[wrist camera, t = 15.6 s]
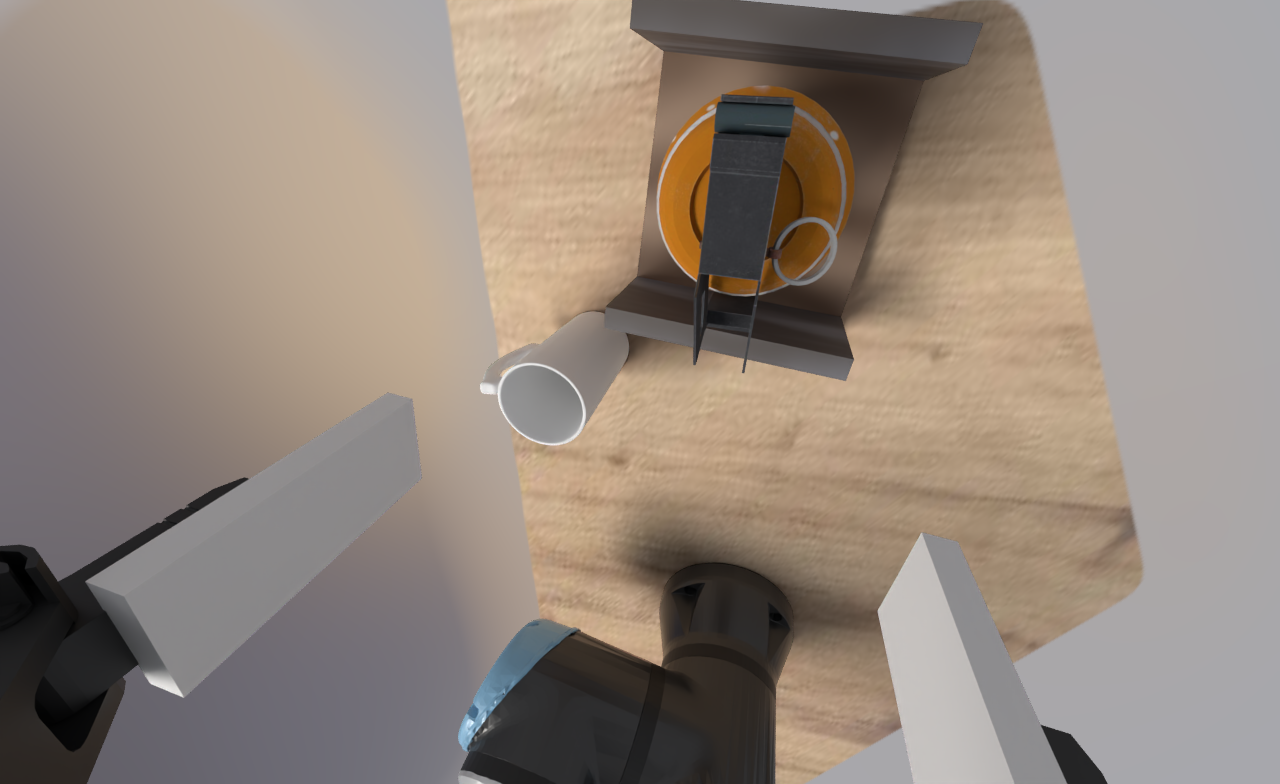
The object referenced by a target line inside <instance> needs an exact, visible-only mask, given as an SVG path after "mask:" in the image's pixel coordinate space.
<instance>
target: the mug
mask: <svg viewBox="0 0 1280 784" xmlns="http://www.w3.org/2000/svg"><path fill="white" fill-rule="evenodd" d="M604 321H605V314H604V313H601V312H595V311H590V312H584V313H581V314H579V315H577V316H576V317H574V318H573V319H572V320H570V321H569V322H568V323H566V324H565V325H564V326H562V327H561V328H560V329H559V330H558V331H556V332H555V333H554V334H553V335H551V336H550V337H549V338H548V339H546V340H545V341H544V342H543V343H541V344H535V343H531V344H528V345H526V346H524V347H522V348H519V349H517V350H515V351H513V352H511V353H509V354H507V355H505V356H503V357H501V358H500V359H498V360H497V361H495V362H494V363H493V364H491V365H490V366H489V367H488V369H487V371H486V372H485V375H484V379H483V381H482V382H481V384H480V390H481V392H482V393H484V394H497V393H498V401H499V404H500V408H501V410H502V412H503V414H504V416H505V418H506V419H507V421H508V422H509V423H510V424H511V426H512V427H513V428H514V429H515V430H516V431H518V432H519V433H520V434H522V435H523V436H524V437H526V438H528V439H530V440H532V441H534V442H537V443H540V444H545V445H561V444H565V443H568V442H570V441H572V440H573V439H575V438H576V437H577V436H578V435H579V434H580V433H581V431H582V429H583V428H584V426H585V425H586V423H587V422H588V420H589V419H590V417H591V416H592V414H593V413H594V411H595V409H596V408H597V406H598V405H599V403H600V401H601V400H602V398H603V397H604V395H605V394H606V392H607V390H608V389H609V387H610V386H611V384H612V383H613V381H614V379H615V378H616V376H617V375H618V373H619V372H620V370H621V368H622V367H623V365H624V363H625V361H626V359H627V357H628V353H629V342H628V338H627V335H626V333H625V332H620V331H616V330H611V329H606V328H604ZM512 365H514V366H513V367H512V368H510V369H509V370H508V371H507V372H506V373H505V374H504V375H503V377H500V376H499V375H500V374H501V372H502V371H504V370H505V369H506V368H508V367H510V366H512Z"/></svg>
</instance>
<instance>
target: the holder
mask: <svg viewBox="0 0 1280 784" xmlns="http://www.w3.org/2000/svg"><path fill="white" fill-rule="evenodd" d="M982 25H983V23H976V22H965V21H954V20H944V19H933V18H922V17H912V16H901V15H890V14H879V13H868V12H858V11H847V10H837V9H826V8H815V7H805V6H794V5H783V4H772V3H761V2H751V1H740V0H632V10H631V21H630V29H632V30H633V31H635V32H636V33H638V34H639V35H641V36H642V37H644V38H645V39H647V40H648V41H650V42H651V43H653V44H654V45H656V46H657V47H659V48H660V49H661V50H663V51H664V54H663V62H662V71H661V79H660V88H659V96H658V105H657V113H656V122H655V130H654V139H653V147H652V156H651V164H650V173H649V181H648V190H647V198H646V207H645V215H644V224H643V232H642V241H641V249H640V258H639V266H638V275H637V277H636V278H635V279H634V280H633V281H632V282H631V283H630V284H629V285H628V286H627V287H626V288H625V289H624V290H623V291H622V292H621V293H620V294H619V295H618V296H617V297H616V298H615V299H614V300H613V301H611V302H610V303H609V304H608V305H607V306H606V309H605V321H604V328H606V329H611V330H616V331H620V332H625V333H629V334H634V335H638V336H643V337H648V338H652V339H657V340H661V341H666V342H670V343H675V344H679V345H684V346H689V347H693V346H694V293H695V288H696V283H697V282H695V281H694V280H693V279H692V278H690V277H689V276H688V275H687V274H685V273H684V271H683V270H682V269H681V268H680V267H679V266H678V265H677V264H676V262H675V261H674V259H673V258H672V257H671V255H670V254H669V252H668V250H667V248H666V246H665V243H664V241H663V239H662V235H661V232H660V229H659V224H658V218H657V185H658V178H659V173H660V170H661V166H662V163H663V159H664V157H665V155H666V153H667V150H668V148H669V146H670V144H671V142H672V141H673V139H674V137H675V136H676V134H677V133H678V131H679V130H680V129H681V127H682V126H683V125H684V124H685V123H686V122H687V120H688V119H689V118H690V117H691V116H692V115H693V114H695V113H696V112H697V111H698V110H699V109H700V108H701V107H703V106H704V105H706V104H707V103H709V102H710V101H712V100H714V99H715V98H717V97H719V96H721V94H726V93H728V92H731V91H733V90H737V89H741V88H745V87H750V86H767V85H768V86H776V87H783V88H787V89H790V90H793V91H796V92H799V93H801V94H803V95H805V96H807V97H808V98H810V99H812V100H814V101H815V102H817V103H818V104H819V105H820V106H821V107H822V108H824V109H825V110H826V111H827V112H828V113H829V114H830V115H831V117H832V118H833V119H834V120H835V122H836V123H837V124H838V125H839V127H840V129H841V131H842V133H843V134H844V136H845V138H846V140H847V143H848V146H849V149H850V152H851V155H852V160H853V166H854V173H855V181H854V196H853V202H852V207H851V211H850V214H849V217H848V220H847V223H846V225H845V227H844V229H843V231H842V233H841V235H840V237H839V239H838V241H837V252H836V255H835V259H834V261H833V263H832V265H831V266H830V268H829V269H828V270H827V272H826V273H825V274H824V275H823V276H822V277H820V278H819V279H817V280H816V281H814V282H812V283H810V284H806V285H801V286H796V285H791V284H790V285H788V286H786V287H784V288H781V289H779V290H776V291H774V292H770V293H766V294H762V295H758V300H757V306H756V311H755V317H754V322H753V328H752V333H751V339H750V344H749V350H748V355H747V359H748V360H752V361H757V362H762V363H766V364H771V365H775V366H780V367H784V368H789V369H794V370H798V371H803V372H807V373H812V374H816V375H821V376H825V377H830V378H835V379H839V380H844V381H846V379H847V376H848V374H849V371H850V368H851V366H852V363H853V361H854V358H853V355H852V352H851V348H850V345H849V342H848V339H847V335H846V332H845V329H844V325H843V322H842V319H841V315H842V312H843V309H844V306H845V304H846V301H847V298H848V295H849V292H850V289H851V287H852V284H853V281H854V278H855V275H856V272H857V269H858V267H859V264H860V261H861V258H862V255H863V252H864V250H865V247H866V244H867V241H868V238H869V235H870V232H871V230H872V227H873V224H874V221H875V218H876V215H877V213H878V210H879V207H880V204H881V201H882V198H883V195H884V193H885V190H886V187H887V184H888V181H889V178H890V176H891V173H892V170H893V167H894V164H895V161H896V158H897V156H898V153H899V150H900V147H901V144H902V141H903V139H904V136H905V133H906V130H907V127H908V124H909V121H910V119H911V116H912V113H913V110H914V107H915V104H916V102H917V99H918V96H919V93H920V90H921V87H922V84H923V82H924V81H925V80H927V79H930V78H933V77H935V76H938V75H941V74H943V73H946V72H949V71H951V70H954V69H956V68H959V67H962V66H964V65H967V64H968V61H969V59H970V56H971V54H972V51H973V48H974V46H975V43H976V41H977V38H978V35H979V33H980V30H981V28H982ZM828 256H829V253H828V255H827V256H826V257H825V258H824V259H823V260H822V261H821V262H820V263H819V264H818V265H817V266H816V267H815V268H813V269H812V270H811V271H810V272H808V273H807V274H806V275H804V276H803V277H801V278H800V279H798V280H802V279H806V278H808V277H810V276H812V275H814V274H815V273H816V272H818V271H819V270H820V269H821V268H822V266H823V265H824V264H825V262H826V260H827V258H828ZM713 292H714V291H713V290H711V289H709V291H708V303H709V301H710V298H711V296H712V294H713ZM701 312H702V297H701ZM700 326H701V324H700ZM748 336H749V333H748V332H741V331H734V330H727V329H720V328H714V327H706V330H705V332H704V336H703V340H702V343H701V347H700V349H702V350H707V351H711V352H716V353H721V354H725V355H730V356H734V357H739V358H743V359H745V353H746V347H747V342H748Z"/></svg>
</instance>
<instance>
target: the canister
mask: <svg viewBox="0 0 1280 784" xmlns="http://www.w3.org/2000/svg"><path fill="white" fill-rule="evenodd" d="M854 181H855V173H854V166H853V160H852V155H851V152H850V149H849V146H848V143H847V140H846V138H845V136H844V134H843V133H842V131H841V129H840V127H839V125H838V124H837V123H836V122H835V120H834V119H833V118H832V117H831V115H830V114H829V113H828V112H827V111H826V110H825V109H824V108H822V107H821V106H820V105H819V104H818V103H817V102H815V101H814V100H812V99H810V98H808V97H807V96H805V95H803V94H801V93H799V92H796V91H793V90H790V89H787V88H783V87H776V86H768V85H767V86H750V87H745V88H741V89H737V90H733V91H731V92H728V93H726V94H721V96H719V97H717V98H715V99H714V100H712V101H710V102H709V103H707V104H706V105H704V106H703V107H701V108H700V109H699V110H698V111H697V112H696V113H695V114H693V115H692V116H691V117H690V118H689V119H688V120H687V122H686V123H685V124H684V125H683V126H682V127H681V129H680V130H679V131H678V133H677V134H676V136H675V137H674V139H673V141H672V142H671V144H670V146H669V148H668V150H667V153H666V155H665V157H664V159H663V163H662V166H661V170H660V173H659V178H658V185H657V218H658V224H659V229H660V232H661V235H662V239H663V241H664V243H665V246H666V248H667V250H668V252H669V254H670V255H671V257H672V258H673V259H674V261H675V262H676V264H677V265H678V266H679V267H680V268H681V269H682V270H683V271H684V273H685V274H687V275H688V276H689V277H690V278H692V279H693V280H694V281H695V282H697V283H696V288H695V293H694V346H693V365H696V362H697V358H698V354H699V351H700V347H701V343H702V340H703V336H704V332H705V330H706V327H714V328H720V329H727V330H734V331H741V332H748V333H749V336H748V342H747V347H746V353H745V359H744V364H743V370H742V373H744V372H745V366H746V361H747V355H748V350H749V344H750V339H751V333H752V328H753V322H754V317H755V311H756V306H757V300H758V295H762V294H766V293H770V292H774V291H776V290H779V289H781V288H784V287H786V286H788V285H790V284H791V285H796V286H801V285H806V284H810V283H812V282H814V281H816V280H817V279H819V278H820V277H822V276H823V275H824V274H825V273H826V272H827V270H828V269H829V268H830V266H831V265H832V263H833V261H834V259H835V255H836V252H837V241H838V239H839V237H840V235H841V233H842V231H843V229H844V227H845V225H846V223H847V220H848V217H849V214H850V211H851V207H852V202H853V196H854ZM828 253H829V256H828V258H827V260H826V262H825V264H824V265H823V266H822V268H821V269H820V270H819V271H818V272H816V273H815V274H814V275H812V276H810V277H808V278H806V279H802V280H798V279H800V278H801V277H803V276H804V275H806V274H807V273H808V272H810V271H811V270H812V269H813V268H815V267H816V266H817V265H818V264H819V263H820V262H821V261H822V260H823V259H824V258H825V257H826V256H827V255H828ZM709 289H711V290H713V291H714V292H713V294H712V296H711V298H710V301H709V303H708V291H709ZM701 297H702V312H701ZM700 324H701V326H700Z"/></svg>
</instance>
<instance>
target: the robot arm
mask: <svg viewBox="0 0 1280 784" xmlns="http://www.w3.org/2000/svg"><path fill="white" fill-rule="evenodd" d="M417 442H418V441H417V433H416V425H415V416H414V408H413V401H412V399H410V398H407V397H403V396H399V395H395V394H391V393H386V394H385V395H383V396H382V397H380V398H378V399H377V400H375V401H374V402H372V403H371V404H369V405H367V406H366V407H364V408H362V409H361V410H359V411H358V412H356V413H354V414H353V415H351V416H350V417H348V418H346V419H345V420H343V421H342V422H340V423H338V424H337V425H335V426H334V427H332V428H330V429H329V430H327V431H325V432H324V433H322V434H321V435H319V436H317V437H316V438H314V439H313V440H311V441H310V442H308V443H306V444H305V445H303V446H302V447H300V448H298V449H297V450H295V451H294V452H292V453H290V454H289V455H287V456H285V457H284V458H282V459H281V460H279V461H278V462H276V463H274V464H273V465H271V466H270V467H268V468H266V469H265V470H263V471H261V472H260V473H258V474H257V475H255V476H253V477H252V478H250V479H248V478H242V479H239V480H236V481H233V482H231V483H228V484H226V485H223V486H220V487H218V488H215V489H213V490H211V491H209V492H208V493H206V494H204V495H203V496H201V497H199V498H198V499H196V500H195V501H193V502H191V503H190V504H188V505H186V508H185V509H180V510H178V511H176V512H175V513H173V514H171V515H170V516H168V517H166V518H165V519H164V521H163V522H162V523H156V524H155V525H153V526H151V527H150V528H148V529H146V530H145V531H143V532H141V533H140V534H138V535H136V536H135V537H133V538H131V539H130V540H128V541H127V542H125V543H123V544H121V545H120V546H118V547H116V548H115V549H114V550H111V551H110V552H108V553H107V554H105V555H103V556H102V557H100V558H98V559H97V560H95V561H93V562H92V563H90V564H88V565H87V566H85V567H83V568H82V569H80V570H78V571H77V572H75V573H73V574H72V575H70V576H68V577H66V578H64V579H62V580H61V581H59V582H58V581H57V580H56V578H55V577H54V575H53V574H52V573H51V571H50V569H49V568H48V567H47V565H46V564H45V562H44V561H43V559H42V558H41V556H40V555H39V553H38V552H37V551H36V550H35V548H33V547H28V546H24V545H10V546H0V784H87V782H88V779H89V777H90V774H91V772H92V770H93V767H94V765H95V762H96V760H97V758H98V755H99V753H100V750H101V748H102V745H103V743H104V740H105V738H106V736H107V733H108V731H109V728H110V726H111V724H112V721H113V719H114V716H115V714H116V711H117V709H118V706H119V704H120V701H121V699H122V697H123V694H124V690H125V683H126V681H125V680H124V678H123V676H124V675H125V674H127V673H128V672H129V671H130V670H132V669H133V668H134V667H135V666H137V665H139V667H140V668H141V670H142V671H143V673H144V674H145V676H146V677H147V679H148V681H149V682H150V684H152V685H155V686H157V687H160V688H162V689H164V690H167V691H169V692H172V693H174V694H176V695H179V696H181V697H185V696H187V695H188V694H189V693H190V692H191V691H192V690H193V689H194V688H195V687H196V686H197V685H198V684H200V683H201V682H202V681H203V680H204V679H205V678H206V677H207V676H208V675H209V674H210V673H211V672H212V671H214V670H215V669H216V668H217V667H218V666H219V665H220V664H221V663H222V662H223V661H224V660H225V659H227V658H228V657H229V656H230V655H231V654H232V653H233V652H234V651H235V650H236V649H237V648H238V647H240V646H241V645H242V644H243V643H244V642H245V641H246V640H247V639H248V638H249V637H250V636H252V635H253V634H254V633H255V632H256V631H257V630H258V629H259V628H260V627H261V626H262V625H263V624H265V622H267V621H268V620H269V619H270V618H271V617H272V616H273V615H274V614H275V613H276V612H277V611H279V610H280V609H281V608H282V607H283V606H284V605H285V604H286V603H287V602H288V601H289V600H291V599H292V598H293V597H294V596H295V595H296V594H297V593H298V592H299V591H300V590H301V589H302V588H303V587H305V585H307V584H308V583H309V582H310V581H311V580H312V579H313V578H314V577H315V576H317V575H318V574H319V573H320V572H321V571H322V570H323V569H324V568H325V567H326V566H327V565H328V564H329V563H331V562H332V561H333V560H334V559H335V558H336V557H337V556H338V555H339V554H340V553H341V552H343V551H344V550H345V549H346V548H347V547H348V546H349V545H350V544H351V543H352V542H353V541H354V540H356V538H357V537H359V536H360V535H361V534H362V533H363V532H364V531H365V530H366V529H367V528H368V527H369V526H371V525H372V524H373V523H374V522H375V521H376V520H377V519H378V518H379V517H380V516H381V515H383V514H384V513H385V512H386V511H387V510H388V509H389V508H390V507H391V506H392V505H393V504H394V503H396V502H397V501H398V500H399V499H400V498H401V497H402V496H403V495H404V494H405V493H406V492H407V491H408V490H410V489H411V488H412V487H413V486H414V485H415V484H416V483H417V482H418V481H419V480H421V478H422V474H421V466H420V458H419V450H418V443H417ZM659 615H660V626H661V637H662V648H663V662H662V666H661V667H660V666H658V665H655V664H653V663H651V662H649V661H647V660H645V659H642V658H640V657H638V656H635V655H633V654H631V653H628V652H626V651H624V650H621V649H619V648H617V647H614V646H612V645H610V644H607V643H605V642H603V641H600V640H598V639H596V638H593V637H591V636H589V635H587V634H585V633H583V632H581V630H580V629H578V628H576V627H574V628H570V627H567V626H565V625H562V624H559V623H556V622H553V621H551V620H548V619H537V620H533V621H532V622H530V623H528V624H527V625H525V627H523V628H522V629H521V630H520V631H519V632H518V633H517V634H516V635H515V637H514V638H513V639H512V640H511V641H510V643H509V644H508V645H507V647H506V648H505V649H504V651H503V652H502V654H501V655H500V656H499V658H498V659H497V661H496V663H495V664H494V665H493V667H492V668H491V670H490V672H489V673H488V675H487V677H486V678H485V680H484V682H483V683H482V685H481V687H480V688H479V690H478V692H477V694H476V696H475V698H474V703H473V704H472V705H471V707H470V709H469V710H468V712H467V714H466V716H465V717H464V720H463V722H462V724H461V727H460V730H459V734H458V738H459V743H460V744H461V746H462V748H463V750H464V751H466V752H469V754H468V756H467V758H466V760H465V762H464V764H463V766H462V768H461V771H460V773H459V775H458V779H459V784H775V743H776V685H777V683H778V680H779V677H780V675H781V672H782V669H783V667H784V664H785V662H786V659H787V656H788V654H789V651H790V648H791V646H792V642H793V636H794V627H793V612H792V609H791V606H790V604H789V602H788V600H787V599H786V597H785V596H784V595H783V593H782V592H781V591H780V590H779V589H778V588H777V587H776V586H775V585H773V584H772V583H771V582H769V581H768V580H767V579H765V578H763V577H762V576H760V575H758V574H756V573H754V572H752V571H749V570H746V569H744V568H740V567H737V566H732V565H727V564H717V563H708V564H699V565H694V566H690V567H687V568H685V569H683V570H681V571H679V572H677V573H676V574H675V575H673V576H672V577H671V578H670V580H669V581H668V582H667V584H666V586H665V588H664V592H663V595H662V599H661V603H660V611H659ZM878 616H879V620H880V625H881V630H882V634H883V639H884V644H885V649H886V653H887V658H888V663H889V668H890V672H891V677H892V682H893V686H894V691H895V696H896V701H897V705H898V710H899V715H900V720H901V724H902V729H903V733H904V738H905V743H906V748H907V753H908V757H909V762H910V767H911V771H912V776H913V781H914V784H1107V782H1106V780H1105V778H1104V776H1103V774H1102V773H1101V771H1100V770H1099V769H1098V768H1097V766H1096V765H1095V764H1094V763H1093V761H1092V760H1091V759H1090V758H1089V756H1088V755H1087V754H1086V753H1085V752H1084V750H1083V749H1082V748H1081V747H1080V745H1079V744H1078V743H1077V742H1076V741H1075V739H1074V738H1073V737H1072V736H1071V734H1068V733H1065V732H1062V731H1059V730H1055V729H1052V728H1049V727H1046V726H1043V725H1040V723H1039V721H1038V718H1037V716H1036V714H1035V712H1034V709H1033V707H1032V705H1031V703H1030V701H1029V698H1028V696H1027V694H1026V692H1025V690H1024V687H1023V685H1022V683H1021V681H1020V678H1019V676H1018V674H1017V672H1016V670H1015V668H1014V665H1013V663H1012V661H1011V659H1010V656H1009V654H1008V652H1007V650H1006V648H1005V645H1004V643H1003V641H1002V639H1001V636H1000V634H999V632H998V630H997V628H996V625H995V623H994V621H993V619H992V617H991V614H990V612H989V610H988V608H987V606H986V603H985V601H984V599H983V597H982V594H981V592H980V590H979V588H978V586H977V583H976V581H975V579H974V577H973V575H972V572H971V570H970V568H969V566H968V563H967V561H966V559H965V557H964V555H963V552H962V550H961V548H960V546H959V544H958V542H957V541H953V540H949V539H945V538H941V537H937V536H934V535H930V534H926V533H921V534H920V536H919V538H918V540H917V542H916V543H915V545H914V547H913V549H912V550H911V552H910V554H909V556H908V558H907V559H906V561H905V563H904V565H903V566H902V568H901V570H900V572H899V574H898V575H897V577H896V579H895V581H894V583H893V584H892V586H891V588H890V590H889V591H888V593H887V595H886V597H885V599H884V600H883V602H882V604H881V606H880V607H879V609H878ZM469 750H470V751H469Z"/></svg>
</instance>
